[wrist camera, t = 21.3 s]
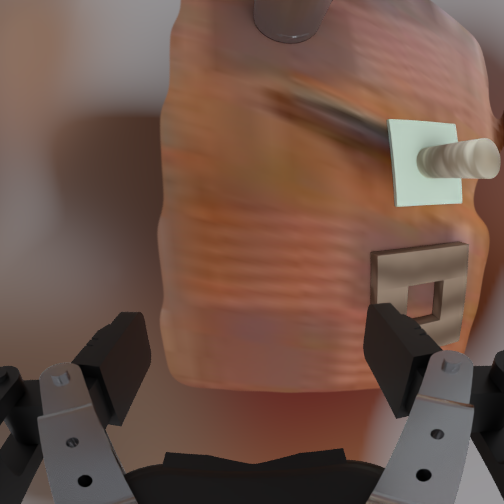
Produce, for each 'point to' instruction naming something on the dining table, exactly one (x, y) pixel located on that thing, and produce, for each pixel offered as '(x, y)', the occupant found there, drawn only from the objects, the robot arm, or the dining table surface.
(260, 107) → the dining table surface
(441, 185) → the sage pad
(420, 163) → the maple peg
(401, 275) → the board
